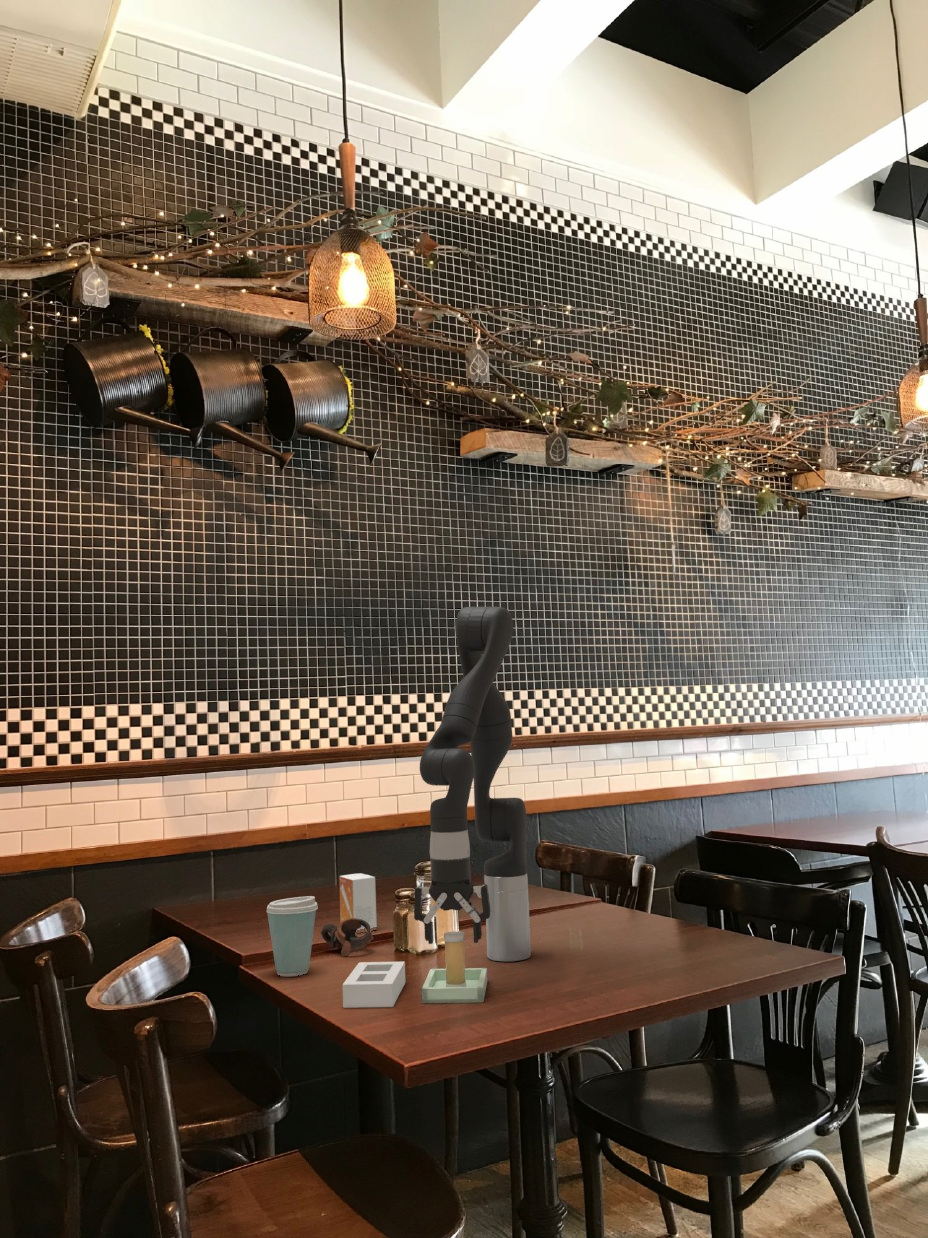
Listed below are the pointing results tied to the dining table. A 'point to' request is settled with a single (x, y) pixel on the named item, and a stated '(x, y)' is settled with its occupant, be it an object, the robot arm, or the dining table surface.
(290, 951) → the disposable coffee cup
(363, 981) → the frame
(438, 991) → the parts tray
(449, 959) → the fuse
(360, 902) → the small box
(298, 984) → the dining table surface
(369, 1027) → the dining table surface
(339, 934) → the pottery mug
